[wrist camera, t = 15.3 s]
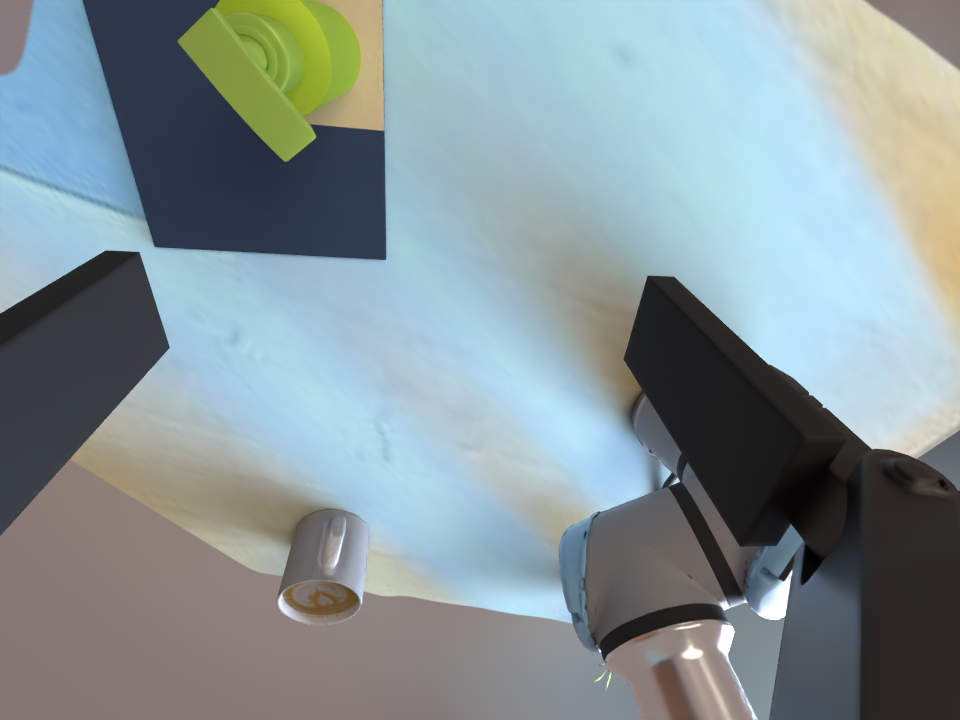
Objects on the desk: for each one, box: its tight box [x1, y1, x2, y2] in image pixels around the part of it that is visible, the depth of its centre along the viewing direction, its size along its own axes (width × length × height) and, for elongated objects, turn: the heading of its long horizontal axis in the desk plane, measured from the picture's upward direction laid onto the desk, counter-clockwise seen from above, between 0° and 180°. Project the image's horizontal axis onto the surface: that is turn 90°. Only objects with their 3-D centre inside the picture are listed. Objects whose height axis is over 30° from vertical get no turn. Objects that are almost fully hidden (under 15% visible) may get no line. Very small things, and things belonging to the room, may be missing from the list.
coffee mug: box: [277, 510, 370, 625], centre depth 61 cm, size 13×10×10 cm
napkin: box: [83, 0, 386, 260], centre depth 37 cm, size 20×20×1 cm
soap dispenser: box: [177, 0, 361, 162], centre depth 27 cm, size 6×7×20 cm
